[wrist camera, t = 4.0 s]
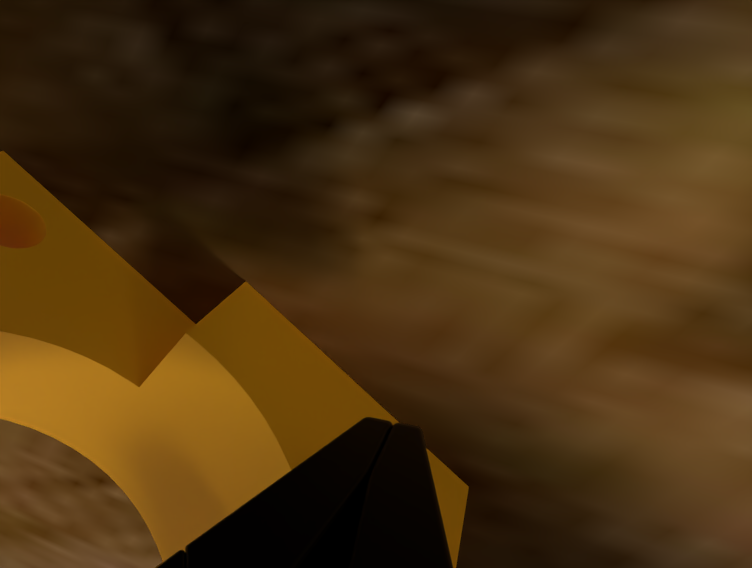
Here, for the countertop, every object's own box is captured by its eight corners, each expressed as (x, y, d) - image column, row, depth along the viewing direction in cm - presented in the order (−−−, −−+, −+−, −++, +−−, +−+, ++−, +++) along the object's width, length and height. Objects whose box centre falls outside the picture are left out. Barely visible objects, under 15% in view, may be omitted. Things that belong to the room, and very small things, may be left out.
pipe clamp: (469, 480, 13) (409, 857, 7) (346, 558, 15) (221, 900, 9) (41, 85, 11) (-463, 146, 6) (-29, 228, 13) (-453, 381, 8)
